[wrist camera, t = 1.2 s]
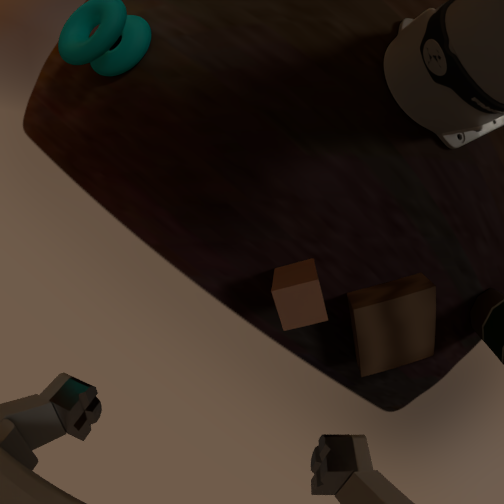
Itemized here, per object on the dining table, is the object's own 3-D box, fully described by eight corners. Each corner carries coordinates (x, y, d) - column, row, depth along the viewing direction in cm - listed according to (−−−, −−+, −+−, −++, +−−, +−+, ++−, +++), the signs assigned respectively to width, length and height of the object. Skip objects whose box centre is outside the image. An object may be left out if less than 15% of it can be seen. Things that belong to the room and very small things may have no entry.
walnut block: (420, 271, 34) (435, 286, 30) (421, 336, 37) (433, 355, 32) (346, 292, 36) (353, 309, 32) (355, 355, 39) (361, 377, 34)
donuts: (134, -5, 19) (86, 69, 22) (167, 27, 29) (129, 86, 32) (83, -10, 19) (43, 55, 22) (119, 15, 28) (86, 69, 31)
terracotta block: (313, 258, 35) (318, 279, 29) (322, 293, 37) (328, 320, 30) (274, 268, 36) (271, 291, 30) (285, 302, 38) (283, 330, 31)
